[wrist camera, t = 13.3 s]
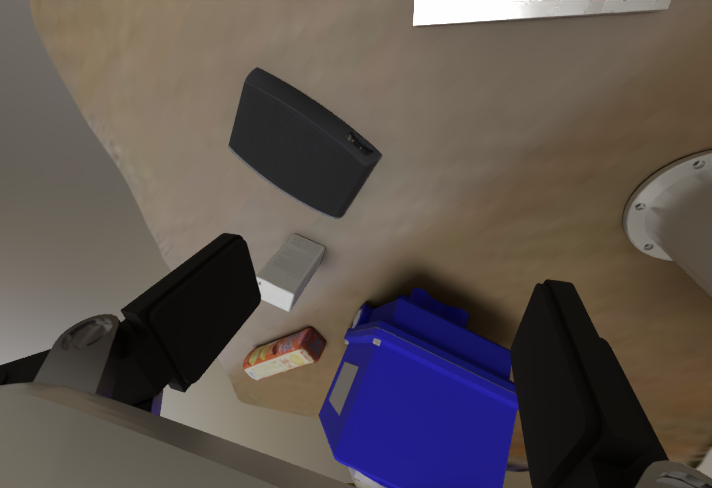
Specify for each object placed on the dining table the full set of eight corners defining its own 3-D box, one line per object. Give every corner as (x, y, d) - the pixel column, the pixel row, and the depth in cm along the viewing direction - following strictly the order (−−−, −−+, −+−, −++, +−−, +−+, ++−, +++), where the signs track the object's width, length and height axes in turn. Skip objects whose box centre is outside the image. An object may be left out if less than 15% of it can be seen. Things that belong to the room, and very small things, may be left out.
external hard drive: (341, 219, 46) (331, 232, 42) (235, 147, 44) (217, 155, 41) (386, 149, 38) (379, 158, 35) (260, 60, 37) (240, 60, 33)
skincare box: (290, 250, 52) (251, 295, 42) (294, 232, 49) (254, 275, 39) (321, 265, 51) (289, 313, 42) (327, 247, 49) (294, 294, 39)
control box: (409, 261, 35) (288, 579, 24) (599, 356, 36) (569, 700, 25) (361, 294, 59) (289, 460, 47) (476, 351, 60) (433, 525, 49)
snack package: (311, 322, 61) (296, 348, 56) (330, 342, 63) (318, 370, 57) (254, 344, 72) (237, 367, 67) (272, 361, 74) (257, 385, 69)
